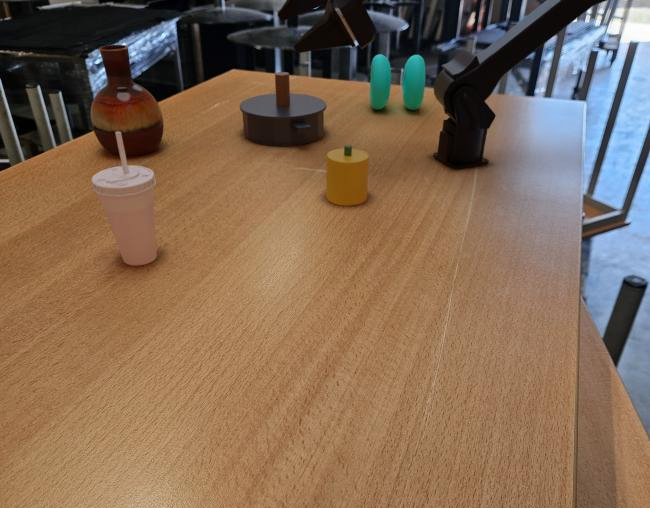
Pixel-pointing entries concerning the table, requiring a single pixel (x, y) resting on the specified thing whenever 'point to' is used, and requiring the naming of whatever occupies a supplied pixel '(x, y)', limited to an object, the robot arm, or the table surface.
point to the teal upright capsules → (410, 87)
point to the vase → (125, 108)
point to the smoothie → (129, 208)
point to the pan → (283, 130)
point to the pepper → (347, 176)
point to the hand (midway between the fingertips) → (286, 33)
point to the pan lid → (282, 103)
